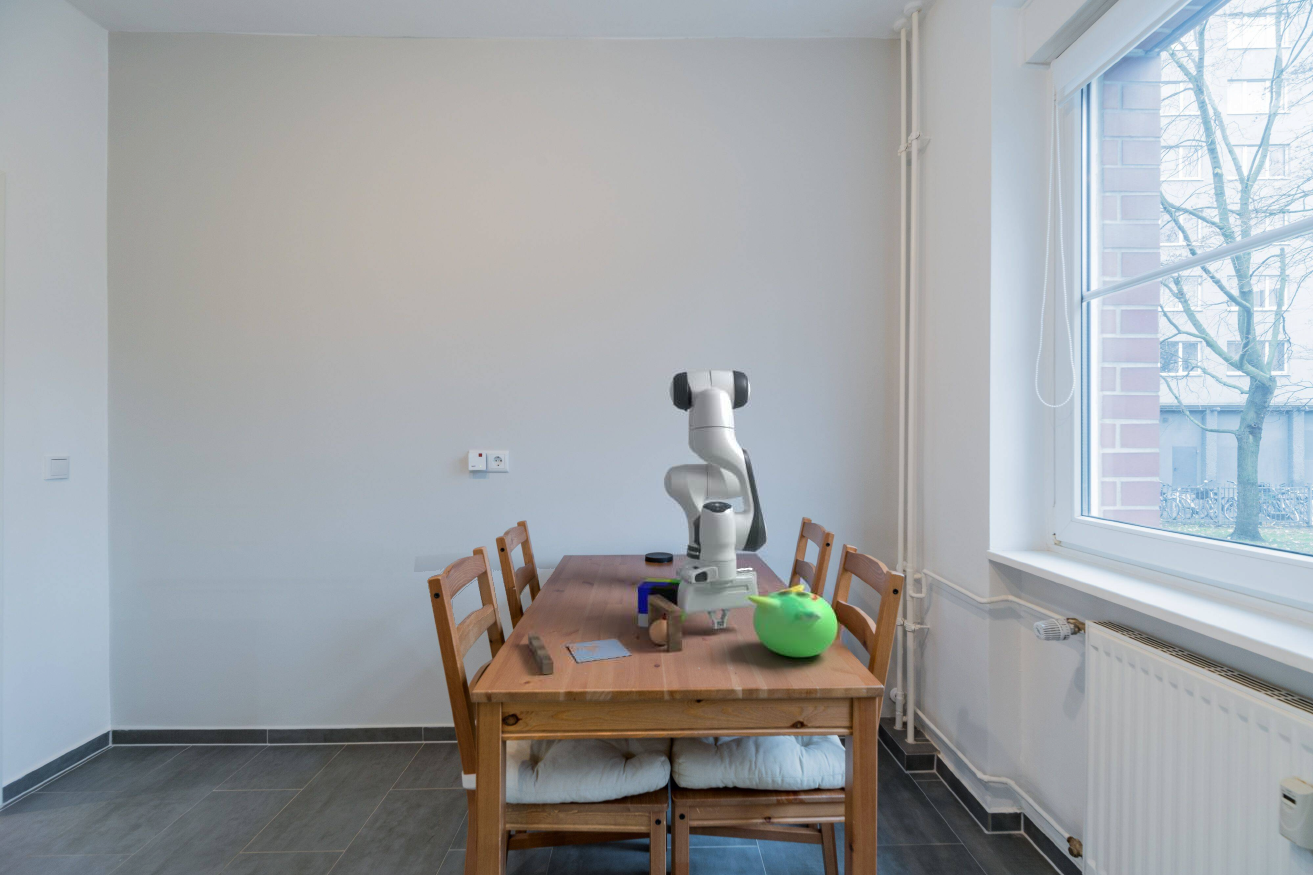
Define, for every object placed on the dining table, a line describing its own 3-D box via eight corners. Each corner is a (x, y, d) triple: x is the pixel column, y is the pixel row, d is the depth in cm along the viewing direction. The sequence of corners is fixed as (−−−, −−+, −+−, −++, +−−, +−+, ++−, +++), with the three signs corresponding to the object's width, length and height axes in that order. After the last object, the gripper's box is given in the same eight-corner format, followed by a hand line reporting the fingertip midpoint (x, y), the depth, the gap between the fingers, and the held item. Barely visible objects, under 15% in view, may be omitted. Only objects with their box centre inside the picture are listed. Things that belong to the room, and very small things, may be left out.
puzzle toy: (638, 626, 161) (637, 587, 161) (648, 615, 171) (647, 578, 171) (676, 629, 159) (676, 588, 159) (684, 617, 168) (684, 579, 168)
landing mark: (566, 645, 147) (566, 644, 147) (616, 639, 151) (616, 638, 151) (577, 663, 136) (577, 662, 136) (631, 655, 140) (631, 654, 140)
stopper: (528, 644, 148) (528, 633, 148) (537, 643, 149) (536, 632, 149) (543, 675, 129) (543, 662, 129) (553, 673, 130) (553, 661, 130)
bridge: (669, 652, 142) (669, 610, 142) (648, 633, 155) (647, 595, 155) (682, 650, 143) (681, 609, 143) (659, 631, 156) (659, 594, 156)
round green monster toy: (845, 649, 142) (845, 583, 142) (824, 675, 127) (823, 601, 127) (768, 637, 151) (767, 575, 151) (740, 660, 136) (739, 591, 136)
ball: (645, 639, 149) (648, 616, 149) (667, 641, 151) (670, 617, 151) (652, 646, 144) (655, 622, 144) (674, 648, 145) (678, 623, 146)
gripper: (750, 564, 160) (750, 619, 160) (674, 571, 153) (675, 628, 153) (762, 569, 154) (763, 626, 154) (684, 576, 147) (685, 636, 147)
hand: (718, 627), depth 154 cm, fingers closed
